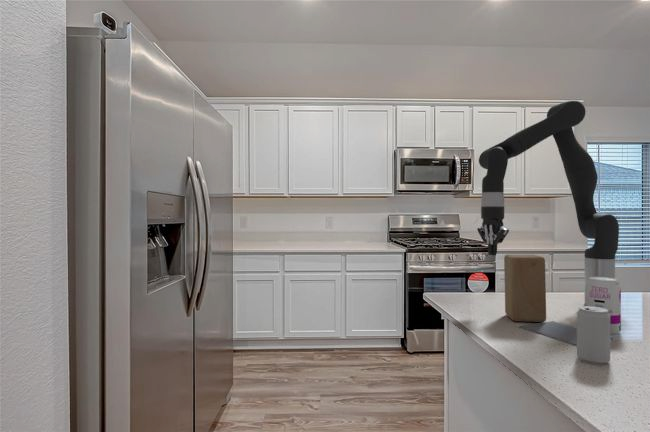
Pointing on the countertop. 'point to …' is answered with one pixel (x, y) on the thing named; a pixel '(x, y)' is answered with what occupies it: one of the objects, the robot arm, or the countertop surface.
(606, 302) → the supplement can
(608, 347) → the beverage can
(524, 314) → the wooden block
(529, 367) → the countertop surface
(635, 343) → the countertop surface
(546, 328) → the mat
